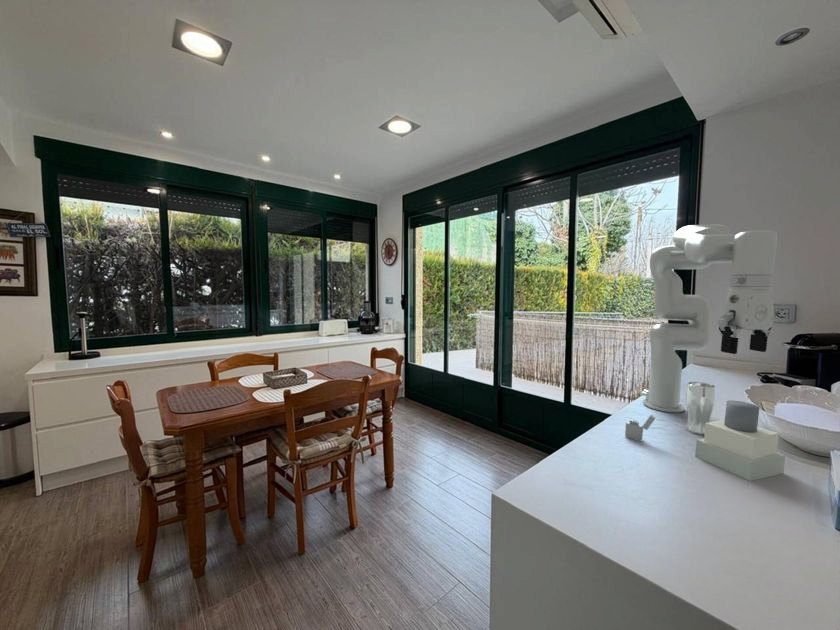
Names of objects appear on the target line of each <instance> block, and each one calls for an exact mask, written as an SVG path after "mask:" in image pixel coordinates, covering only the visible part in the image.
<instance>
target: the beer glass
mask: <svg viewBox="0 0 840 630" xmlns="http://www.w3.org/2000/svg"><path fill="white" fill-rule="evenodd" d="M685 393H686V394H685V403H686V410H687V422H686V425H685V430H686V431H687V432H689V433H692V434H695V435H699V436H705V423H708V422H711V418H712V414H713V412H714V408H715V402H716V386H715V385H713V384H711V383H706V382H700V381H688V382H687V387H686V392H685Z"/></svg>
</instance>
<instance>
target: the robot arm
mask: <svg viewBox="0 0 840 630" xmlns="http://www.w3.org/2000/svg"><path fill="white" fill-rule="evenodd" d="M672 242H673V245H664V246H660V247H657V248H655V249H653V251H652V252H651V254H650V257H649V269H650V273H651V277H652V279H653V282H654V313H655V314H654V315H655V316H656V318H658V319H660V320H664V321H686V322H688V324H686V323H683V324H682V323H657V324H655V325H653V326H652V327H651V328H650V330H649V342H650V367H649V368H650V370H649V384H648V385H649V387H648V390H647V389H643V391H641V393H640V395H641V396H644V397H645V399H644V400H643V405H644V406H646V407H647V408H650V409H653V410H655V411H656V410H657V411H660V412H665V413H666V412H667V413H682V412H684V411H685V406H684V404H683V405H682V404H681V403H680V401H681V389H682V387H681V386H682V375H683V374H682V371H683V361H682V359H681V358H680V356H679V355H678V354H677V352H676V351H703V350H704V349H706V348H707V347H708V344H709V339H710V338H709V337H710V312H709V311H710V309H709V303H708V301H707V300H706V298H705V297H703V296H702V295H699V294H684V292H683V290H684V289H683V288H684V287H683V280H682V278H681V277H680V276H679V274H677V272H676V271H674V270H703V269H706V268H708V267H710V265H712V264H731V267H730V276H729V289H728V292H727V297H726V300H725V305H724V311H723V315H722V316H721V317H719V318H718V319H717V324H718V330H719V332H720V336H721V345H720V352H722V353H727V354H732V355H736V354H738V345H739V337H738V336H739V334H740V332H741V331H742V330H745V331H751V332H752V334H750V339H749V350H750V351H755V352H761V353H765V352H767V348H768V340H769V339H768V337H769V336H770V334H771V332H770V331H771V329H772V328H773V325H774V322H775V317H774V315H775V314H774V312H775V311H774V310H775V306H774V305H775V304H774V303H775V300H774V299H775V297H774V291H773V284H774V283H773V282H774V272H775V263H776V254H777V246H778V245H777V244H778V234H777V232H776V231H774V230H770V229H769V230H768V229H762V230H761V229H760V230H759V229H758V230H747V231H741V232H739V233H737V234H736V233H732V232H731V229H729V227H728V226H727V225H724V224H719V223H714V224H710V223H709V224H690V225H689V224H688V225H685V226H682V227H681V228H679V229H678V230H676V232H675V233H674V235H673V237H672Z"/></svg>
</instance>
